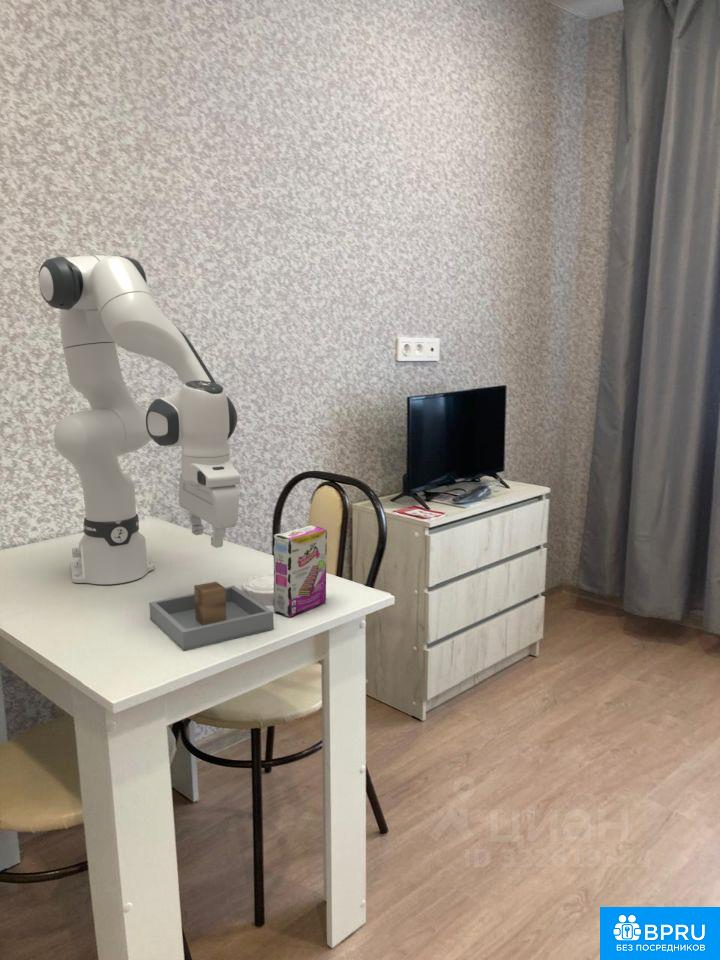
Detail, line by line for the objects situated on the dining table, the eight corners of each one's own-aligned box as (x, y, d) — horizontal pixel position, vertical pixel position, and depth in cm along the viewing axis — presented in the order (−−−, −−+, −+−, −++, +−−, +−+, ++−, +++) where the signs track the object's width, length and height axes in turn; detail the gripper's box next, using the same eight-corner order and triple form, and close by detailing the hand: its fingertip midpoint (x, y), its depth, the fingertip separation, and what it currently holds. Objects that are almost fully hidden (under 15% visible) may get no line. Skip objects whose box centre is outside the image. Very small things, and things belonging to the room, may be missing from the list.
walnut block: (195, 619, 145) (194, 585, 144) (217, 615, 148) (215, 581, 146) (204, 627, 141) (203, 592, 140) (226, 622, 144) (225, 587, 143)
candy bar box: (290, 618, 148) (289, 539, 144) (273, 612, 151) (271, 534, 147) (328, 603, 156) (327, 527, 153) (310, 598, 159) (310, 523, 156)
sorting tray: (150, 619, 147) (149, 602, 146) (234, 601, 157) (233, 585, 156) (183, 650, 132) (182, 632, 132) (273, 629, 142) (273, 611, 141)
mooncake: (262, 584, 168) (262, 569, 168) (308, 592, 163) (308, 577, 162) (230, 601, 158) (230, 585, 157) (278, 610, 153) (278, 594, 152)
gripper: (169, 461, 145) (171, 529, 148) (211, 480, 129) (212, 556, 132) (200, 458, 149) (201, 525, 152) (244, 477, 132) (245, 551, 135)
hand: (206, 540), depth 141 cm, fingers open, 8 cm apart
